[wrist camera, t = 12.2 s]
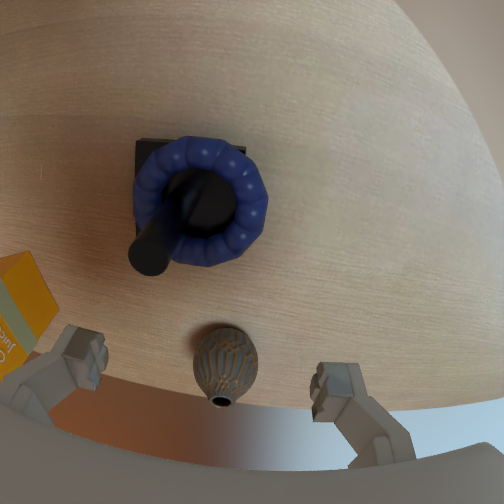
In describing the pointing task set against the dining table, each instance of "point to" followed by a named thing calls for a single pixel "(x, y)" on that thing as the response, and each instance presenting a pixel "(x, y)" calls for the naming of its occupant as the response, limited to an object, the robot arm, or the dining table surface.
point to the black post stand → (180, 211)
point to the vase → (225, 366)
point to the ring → (227, 167)
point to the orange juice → (22, 310)
